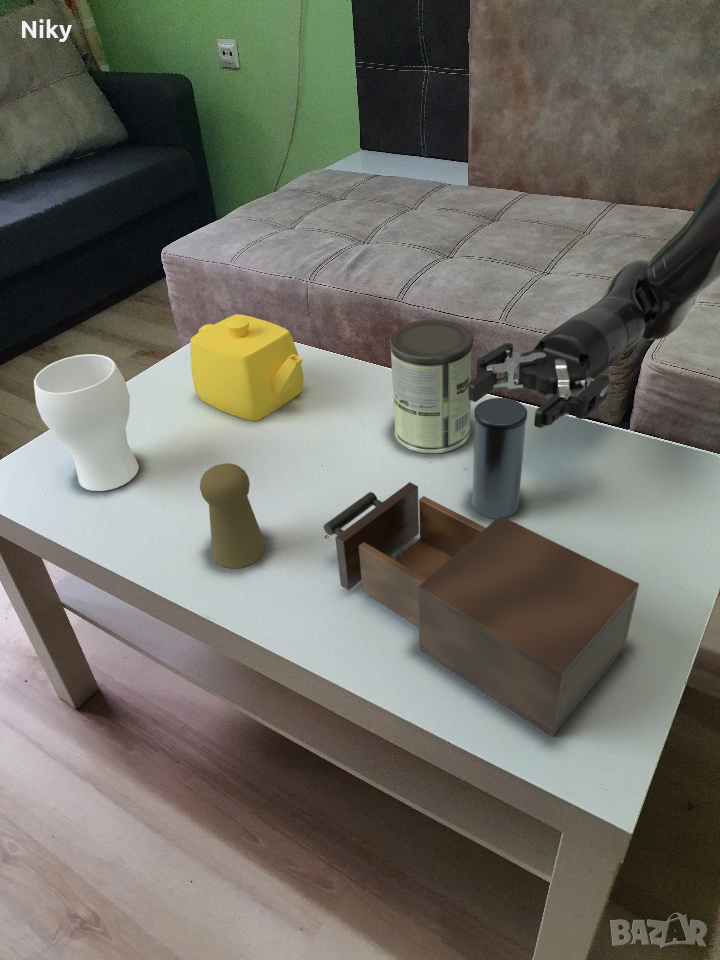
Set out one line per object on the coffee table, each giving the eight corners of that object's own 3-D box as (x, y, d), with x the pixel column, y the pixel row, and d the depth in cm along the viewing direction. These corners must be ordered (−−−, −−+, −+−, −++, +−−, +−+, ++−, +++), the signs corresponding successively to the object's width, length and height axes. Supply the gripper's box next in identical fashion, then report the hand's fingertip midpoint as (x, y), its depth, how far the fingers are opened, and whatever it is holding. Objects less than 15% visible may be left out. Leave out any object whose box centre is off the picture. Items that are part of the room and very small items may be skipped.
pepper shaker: (201, 552, 85) (181, 475, 79) (242, 524, 89) (226, 448, 82) (235, 576, 82) (217, 497, 75) (276, 546, 85) (262, 469, 79)
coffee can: (403, 408, 107) (399, 316, 98) (476, 415, 104) (479, 321, 96) (385, 450, 99) (380, 354, 90) (463, 458, 96) (465, 360, 88)
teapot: (333, 396, 110) (325, 322, 103) (274, 436, 103) (262, 360, 96) (238, 361, 121) (225, 292, 114) (179, 395, 114) (161, 323, 106)
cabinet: (419, 649, 72) (417, 586, 67) (496, 577, 79) (500, 515, 74) (552, 737, 64) (561, 672, 59) (624, 648, 71) (639, 583, 66)
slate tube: (524, 494, 90) (532, 401, 82) (512, 524, 86) (520, 429, 78) (479, 485, 92) (482, 393, 84) (465, 513, 88) (467, 420, 80)
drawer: (312, 567, 81) (305, 519, 77) (383, 514, 87) (380, 467, 83) (442, 651, 71) (442, 601, 67) (511, 584, 77) (516, 535, 73)
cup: (122, 440, 105) (91, 343, 96) (165, 469, 99) (137, 368, 89) (52, 477, 99) (12, 377, 90) (93, 510, 93) (55, 406, 84)
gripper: (533, 304, 92) (451, 356, 83) (643, 336, 84) (565, 398, 75) (528, 359, 96) (450, 414, 87) (632, 394, 88) (558, 459, 79)
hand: (503, 406), depth 81 cm, fingers open, 8 cm apart
